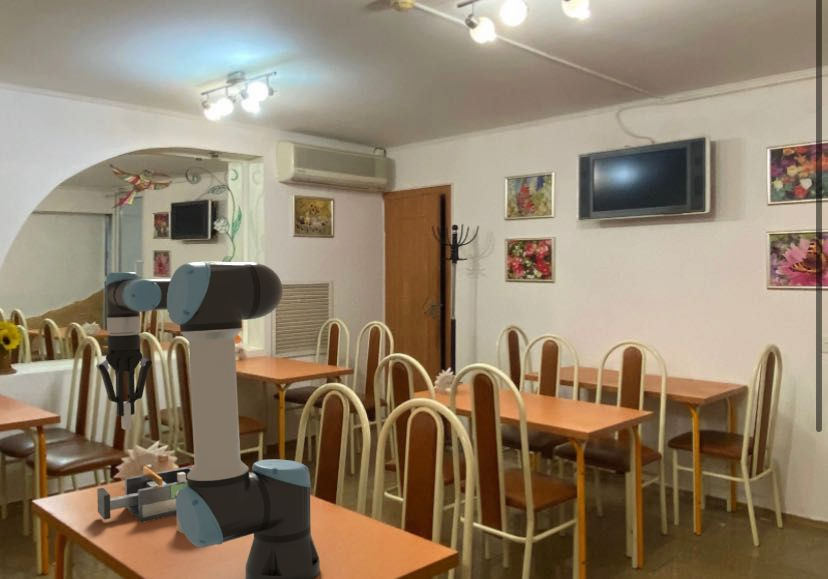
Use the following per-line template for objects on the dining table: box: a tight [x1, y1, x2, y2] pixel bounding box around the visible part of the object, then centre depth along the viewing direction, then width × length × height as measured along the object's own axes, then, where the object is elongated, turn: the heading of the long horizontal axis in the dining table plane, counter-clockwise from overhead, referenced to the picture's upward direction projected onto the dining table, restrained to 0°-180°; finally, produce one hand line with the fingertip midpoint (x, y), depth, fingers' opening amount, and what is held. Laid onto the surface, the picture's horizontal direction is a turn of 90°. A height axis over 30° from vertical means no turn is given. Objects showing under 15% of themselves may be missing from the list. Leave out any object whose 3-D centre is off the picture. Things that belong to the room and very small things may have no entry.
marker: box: [177, 472, 186, 482], centre depth 180 cm, size 2×2×2 cm
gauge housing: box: [124, 465, 194, 523], centre depth 183 cm, size 14×18×8 cm
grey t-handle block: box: [96, 465, 166, 521], centre depth 178 cm, size 14×16×9 cm
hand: (126, 428), depth 171 cm, fingers closed
